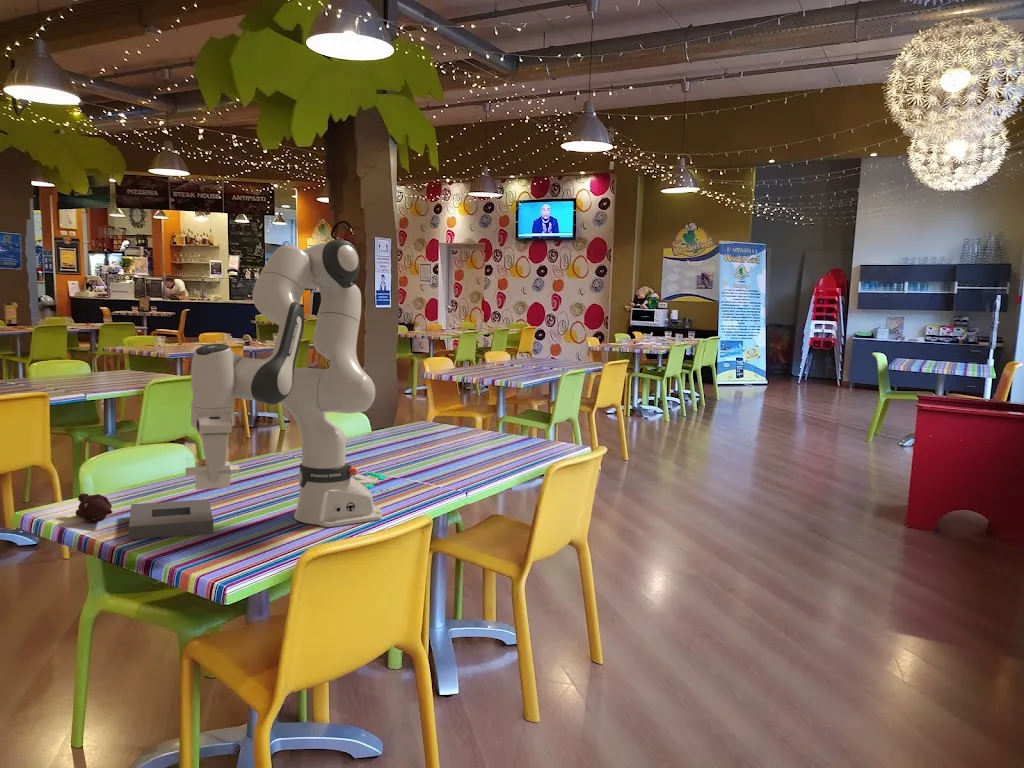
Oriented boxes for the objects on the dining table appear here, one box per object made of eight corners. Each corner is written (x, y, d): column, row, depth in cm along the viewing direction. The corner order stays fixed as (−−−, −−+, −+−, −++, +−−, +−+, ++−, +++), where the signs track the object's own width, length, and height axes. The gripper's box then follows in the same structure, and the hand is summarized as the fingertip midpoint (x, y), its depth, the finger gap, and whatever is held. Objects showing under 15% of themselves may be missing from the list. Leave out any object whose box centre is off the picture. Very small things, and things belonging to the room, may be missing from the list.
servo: (237, 481, 170) (238, 456, 169) (239, 486, 167) (239, 460, 166) (185, 485, 165) (185, 459, 165) (186, 490, 162) (186, 463, 161)
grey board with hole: (208, 511, 194) (208, 499, 194) (213, 533, 178) (213, 520, 178) (131, 516, 186) (131, 504, 186) (128, 540, 170) (128, 526, 170)
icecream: (129, 498, 181) (96, 491, 189) (99, 496, 174) (66, 489, 183) (123, 527, 180) (91, 519, 188) (93, 526, 174) (60, 518, 182)
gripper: (195, 409, 172) (195, 467, 174) (199, 427, 154) (200, 492, 155) (224, 409, 174) (224, 466, 176) (232, 426, 156) (232, 490, 158)
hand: (212, 478), depth 166 cm, fingers closed on servo, 4 cm apart
